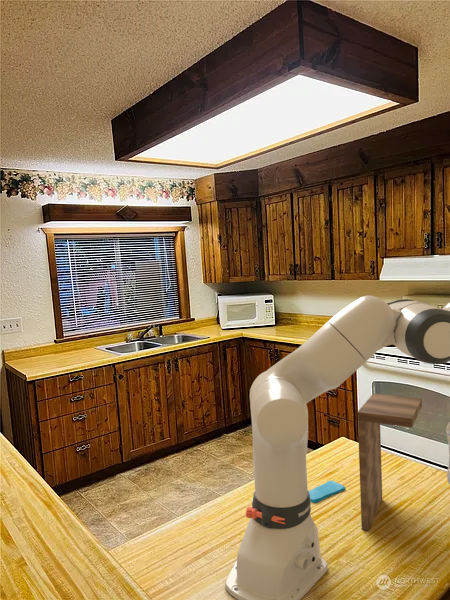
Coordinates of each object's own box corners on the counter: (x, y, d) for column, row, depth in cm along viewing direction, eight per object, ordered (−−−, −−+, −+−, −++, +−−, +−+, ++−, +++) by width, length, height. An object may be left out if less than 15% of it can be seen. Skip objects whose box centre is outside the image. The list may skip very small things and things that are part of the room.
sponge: (298, 492, 121) (312, 499, 116) (330, 479, 128) (345, 484, 123) (298, 498, 121) (313, 504, 116) (331, 484, 128) (346, 490, 123)
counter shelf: (414, 542, 98) (411, 418, 96) (361, 529, 104) (357, 411, 102) (424, 508, 111) (421, 398, 109) (376, 498, 117) (373, 393, 115)
